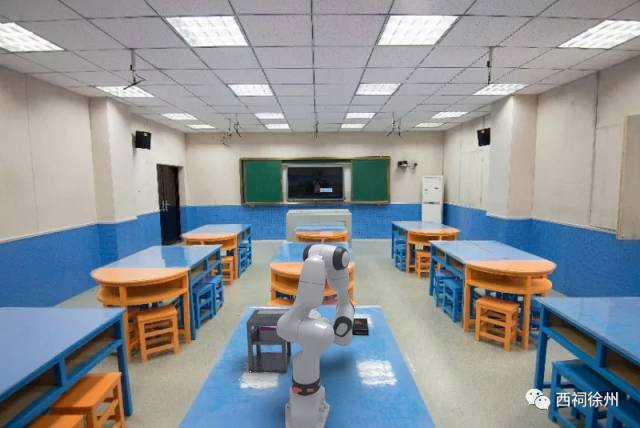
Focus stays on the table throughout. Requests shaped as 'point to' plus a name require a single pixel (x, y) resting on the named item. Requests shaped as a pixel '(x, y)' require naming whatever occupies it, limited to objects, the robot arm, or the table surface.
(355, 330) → the portable cd player
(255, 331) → the rack
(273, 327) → the mounting bracket
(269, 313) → the strip
